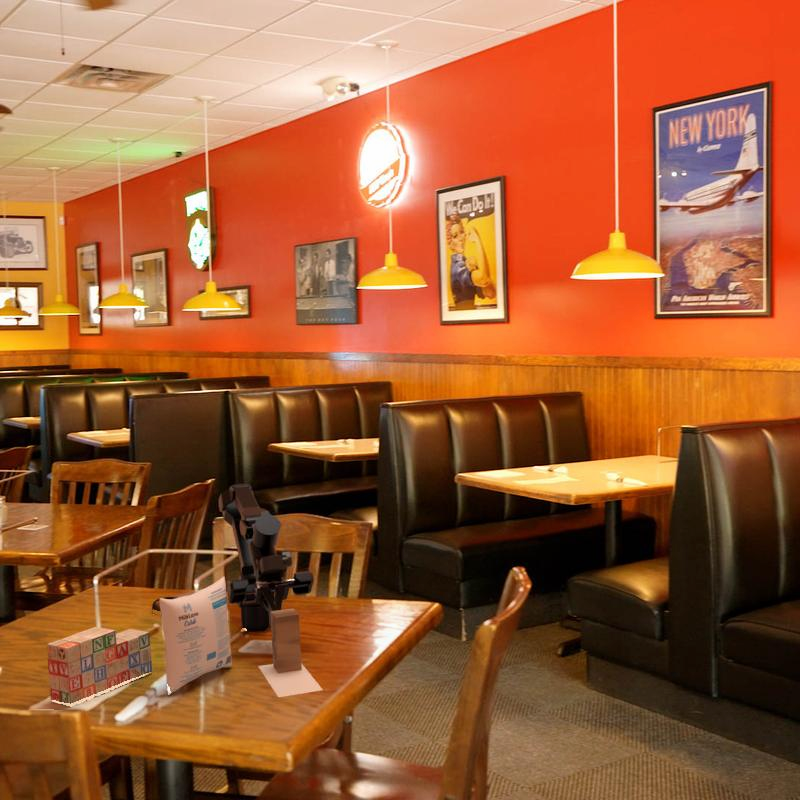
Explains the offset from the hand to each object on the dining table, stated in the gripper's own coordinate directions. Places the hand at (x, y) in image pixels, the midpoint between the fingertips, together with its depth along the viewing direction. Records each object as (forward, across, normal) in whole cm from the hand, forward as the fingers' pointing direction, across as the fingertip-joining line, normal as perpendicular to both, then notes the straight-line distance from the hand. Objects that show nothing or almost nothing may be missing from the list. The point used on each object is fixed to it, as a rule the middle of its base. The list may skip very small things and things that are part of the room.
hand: (278, 620), depth 219 cm
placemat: (+16, -1, -3) cm, 16 cm away
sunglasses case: (-31, -13, +44) cm, 55 cm away
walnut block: (+11, 0, +1) cm, 11 cm away
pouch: (+10, -18, +3) cm, 21 cm away
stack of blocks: (+7, -37, +6) cm, 39 cm away
